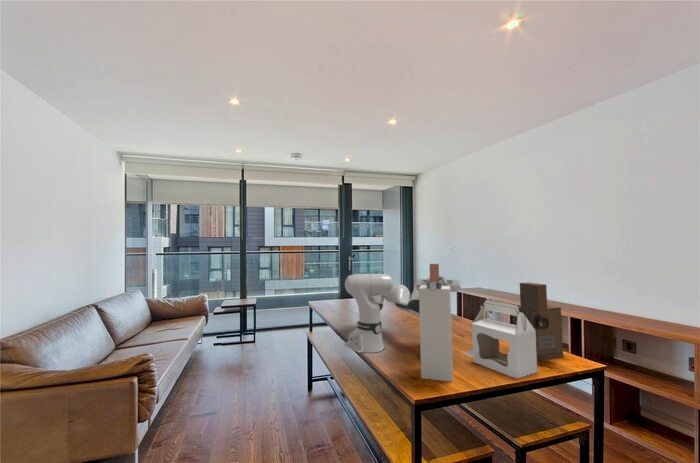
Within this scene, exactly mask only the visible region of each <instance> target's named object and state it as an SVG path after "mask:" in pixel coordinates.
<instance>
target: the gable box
mask: <svg viewBox="0 0 700 463" xmlns="http://www.w3.org/2000/svg"><path fill="white" fill-rule="evenodd" d="M519 306H520V305H518V304H513V303H507V302H502V301H501V302H500V301H496V300H489V299H486V300H485V301H484V302H483V305H480V310H479V311H478V313H477V314H476V316H475V318H474V319H473V321H472V323H471V334H472V335H471V337H472V340H471V341H472V349H473V356H472V362H473V363H475V364H478V365H479V366H483V367H485V368H487V369H489V370H493V371H496V372H498V373H500V374H503V375H505V376H508V377H511V378H513V377H514V378H513V379H516V378H517V379H516V380H519V379H522V378H525V377H528V376H531V375H534V374H536V373H538V361H537V356H536V333H535V329H534V328H533V326H532V325H531V323H530V322H529V321H528V319H527V318H526V316H525V314H523V313H522V312H520V310H519ZM490 312H495V313H500V314H504V315H509V316H513V315H514V316H517V324H516V325H514V324H513V323H510V322H504V321H500V320H496V319H492V318H491V315H490ZM499 340H503V341H504V342H507V343H508V345H509V350H508V353H503V352H501V351H500V341H499ZM530 374H531V375H530ZM527 375H528V376H527ZM524 376H525V377H524ZM521 377H522V378H521ZM518 378H519V379H518Z"/></svg>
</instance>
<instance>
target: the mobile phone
mask: <svg viewBox="0 0 700 463" xmlns="http://www.w3.org/2000/svg"><path fill="white" fill-rule="evenodd" d="M463 354H464V355H467V356H470V357H473V348H472V349H470V350H466V351H464V352H463Z"/></svg>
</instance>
